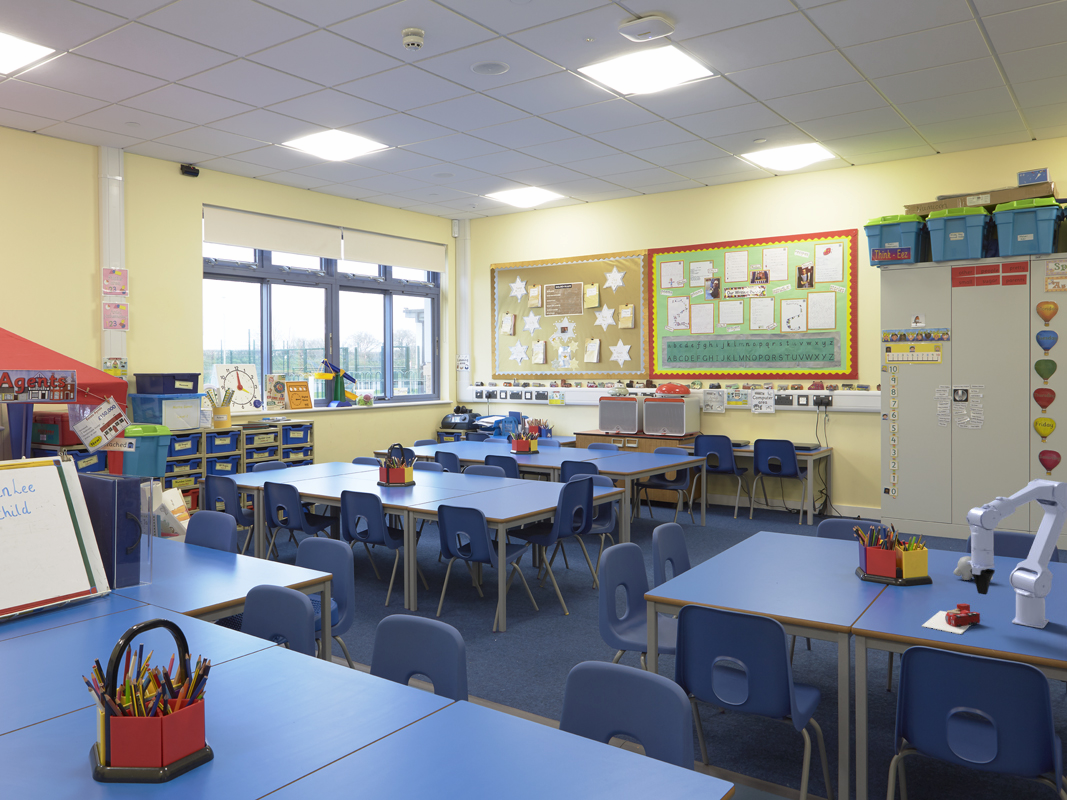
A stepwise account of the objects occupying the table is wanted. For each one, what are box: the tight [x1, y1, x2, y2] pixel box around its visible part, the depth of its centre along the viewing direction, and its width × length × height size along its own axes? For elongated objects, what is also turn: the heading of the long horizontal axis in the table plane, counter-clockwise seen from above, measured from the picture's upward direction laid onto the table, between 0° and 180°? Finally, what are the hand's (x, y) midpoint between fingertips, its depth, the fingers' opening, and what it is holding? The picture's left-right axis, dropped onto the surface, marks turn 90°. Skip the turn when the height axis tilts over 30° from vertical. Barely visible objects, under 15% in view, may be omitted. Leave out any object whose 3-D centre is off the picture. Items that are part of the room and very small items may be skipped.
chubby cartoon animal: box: [953, 555, 994, 582], centre depth 273 cm, size 7×12×8 cm, turn 42°
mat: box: [921, 610, 972, 635], centre depth 228 cm, size 19×11×1 cm, turn 136°
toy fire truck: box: [945, 602, 981, 627], centre depth 229 cm, size 3×14×10 cm
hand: (982, 593), depth 223 cm, fingers closed
